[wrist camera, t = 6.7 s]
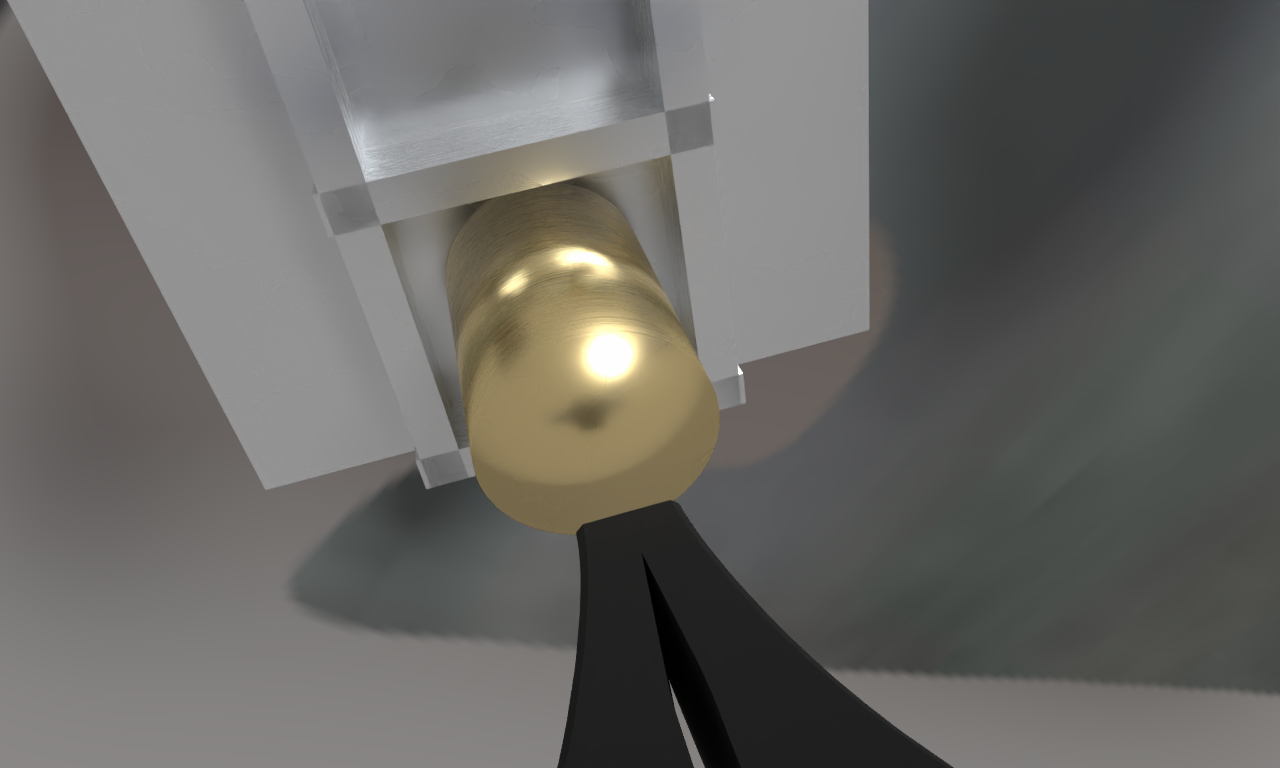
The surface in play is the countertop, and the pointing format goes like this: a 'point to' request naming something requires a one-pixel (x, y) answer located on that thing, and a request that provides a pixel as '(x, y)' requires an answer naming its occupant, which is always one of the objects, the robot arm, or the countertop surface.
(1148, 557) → the countertop surface
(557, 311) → the billet
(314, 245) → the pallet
